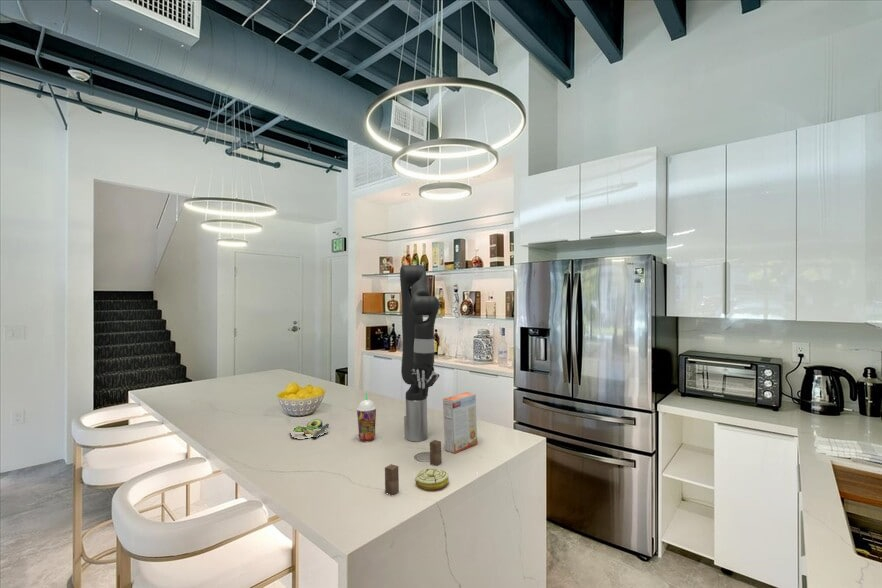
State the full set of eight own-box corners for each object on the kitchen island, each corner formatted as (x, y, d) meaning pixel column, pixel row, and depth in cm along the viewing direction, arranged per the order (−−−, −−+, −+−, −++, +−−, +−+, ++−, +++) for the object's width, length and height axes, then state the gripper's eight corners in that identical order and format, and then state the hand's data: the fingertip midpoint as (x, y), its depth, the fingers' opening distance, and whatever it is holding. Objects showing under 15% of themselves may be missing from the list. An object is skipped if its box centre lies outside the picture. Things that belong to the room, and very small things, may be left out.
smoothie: (360, 444, 168) (359, 396, 168) (355, 438, 175) (354, 392, 176) (379, 440, 172) (378, 394, 172) (373, 435, 179) (372, 390, 179)
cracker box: (466, 441, 169) (465, 391, 169) (477, 444, 165) (476, 393, 165) (443, 450, 159) (442, 397, 160) (454, 454, 155) (453, 400, 155)
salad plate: (333, 438, 178) (333, 427, 178) (291, 444, 171) (290, 433, 171) (328, 425, 195) (328, 416, 195) (289, 431, 188) (289, 421, 188)
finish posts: (385, 493, 125) (384, 467, 125) (434, 461, 149) (434, 439, 149) (392, 495, 123) (392, 469, 123) (441, 463, 147) (441, 441, 147)
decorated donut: (426, 474, 138) (426, 463, 138) (454, 481, 133) (453, 469, 133) (409, 487, 129) (409, 475, 129) (438, 494, 124) (437, 482, 124)
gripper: (444, 351, 145) (444, 398, 146) (416, 347, 153) (415, 392, 153) (432, 353, 139) (431, 403, 139) (403, 350, 147) (402, 397, 147)
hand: (423, 397), depth 146 cm, fingers closed
